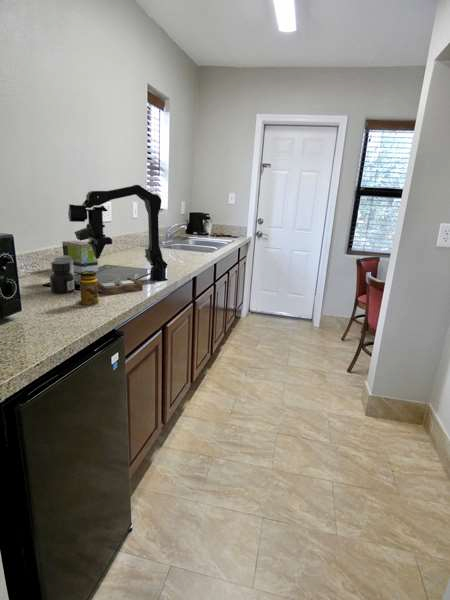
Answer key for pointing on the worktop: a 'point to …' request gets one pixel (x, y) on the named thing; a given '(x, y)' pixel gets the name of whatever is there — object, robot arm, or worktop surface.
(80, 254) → the tea box
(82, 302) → the condiment
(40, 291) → the worktop surface
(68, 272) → the ink bottle
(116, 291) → the corral
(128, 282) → the tile
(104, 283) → the tile
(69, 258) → the can
